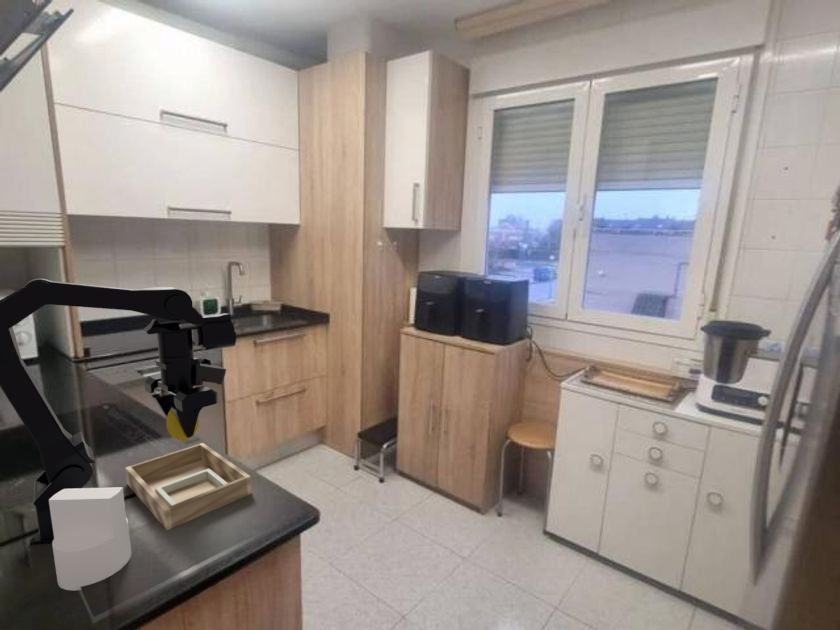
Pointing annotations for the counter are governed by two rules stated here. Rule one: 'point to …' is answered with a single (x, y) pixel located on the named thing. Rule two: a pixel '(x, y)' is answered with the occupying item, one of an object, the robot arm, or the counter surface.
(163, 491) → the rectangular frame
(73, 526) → the grey upright block
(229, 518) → the counter surface
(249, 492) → the walled box
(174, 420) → the lemon
